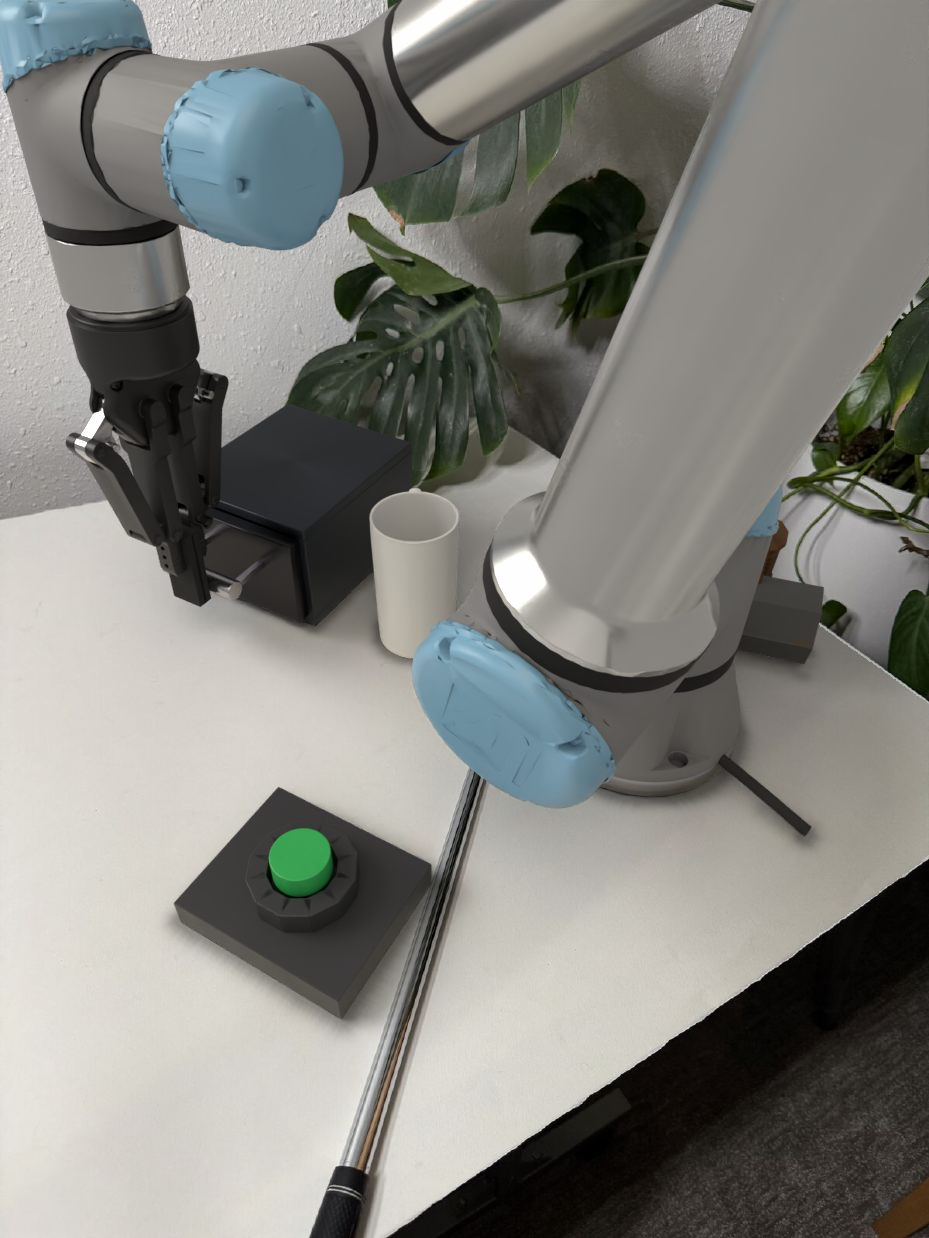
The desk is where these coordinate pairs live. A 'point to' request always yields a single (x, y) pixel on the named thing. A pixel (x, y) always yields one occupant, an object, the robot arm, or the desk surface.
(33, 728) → the desk surface
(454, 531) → the mug
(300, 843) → the button
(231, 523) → the drawer
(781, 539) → the mechanical component
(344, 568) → the cabinet
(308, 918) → the control block
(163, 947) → the desk surface
